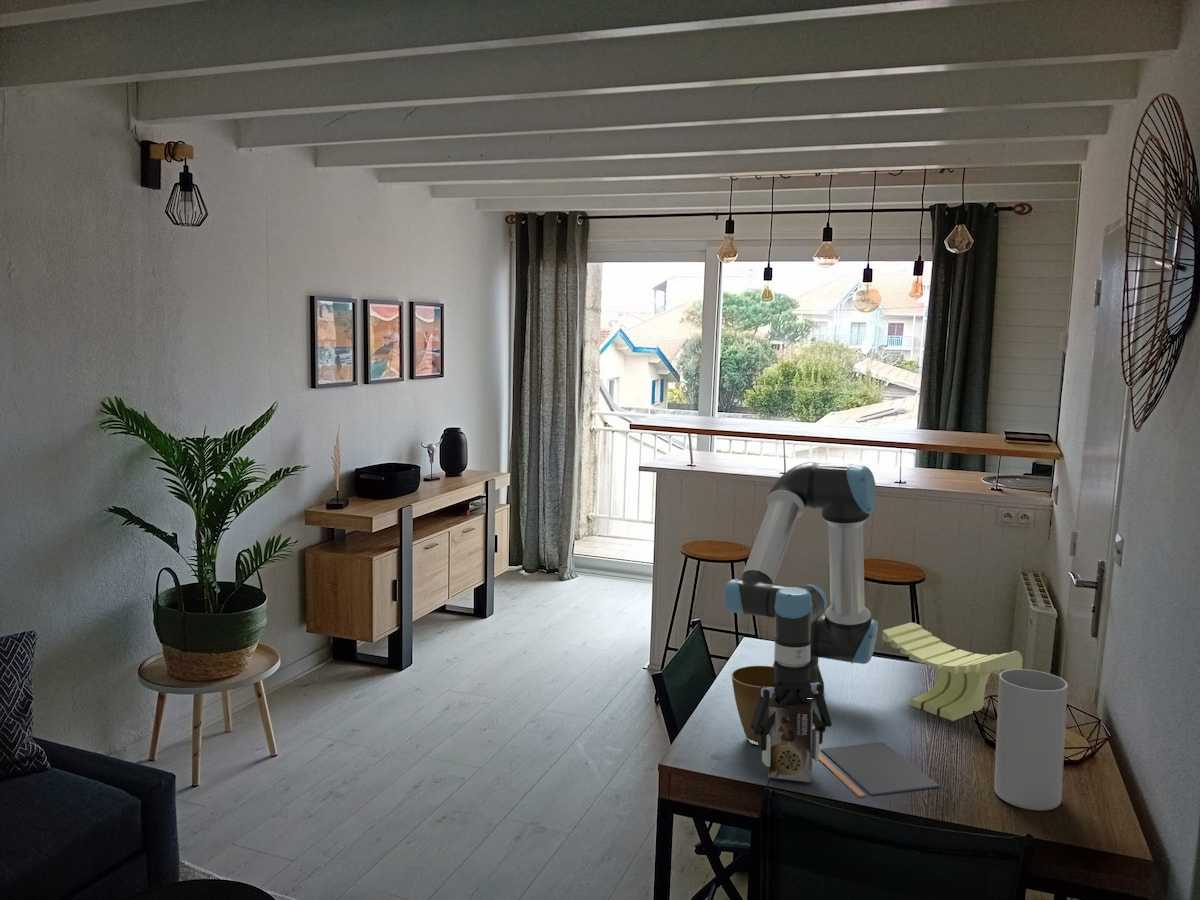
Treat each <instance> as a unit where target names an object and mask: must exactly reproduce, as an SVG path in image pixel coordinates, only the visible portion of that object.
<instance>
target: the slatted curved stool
mask: <svg viewBox="0 0 1200 900" xmlns="http://www.w3.org/2000/svg"><path fill="white" fill-rule="evenodd" d="M881 636H882V638H881V639H882V641H883V642H886V643H890V647H891V648H893V649H896V650H897V649H900V650H899V653H900V654H901V655H902V654H903V655H905V656H907V655H909V657H908V659H909V661H913V662H916V663H920V664H924V665H926V666H929V667H932V668H935V669H936V672H937V677H938V679H937V682H936V684H935V685H934V686H933V687H932V688H931V689H930V690H928V691H926V692H924V693H923V694H919V695H918V696H915V697H912V698H911V699H910V701H909V702H908V703H907V705H908V706H911V707H914V708H916V709H919V710H923V712H924V711H925V712H927V713H930V714H932V715H935V716H937V715H939V717H941V718H943V719H946V720H949V721H951V722H954V721H956V720H959V719H961V718H964V717H965V716H966V717H967V716H968V715H970V714H974V713H973V711H974V710H975V711H976V712H978V711H982V709H983V707H984V704H985V691H986V685H987V682H988V680H989V678H990V675H991V674H993V675H996V676H999V674H1000V673H1001V672H1003V671H1006V670H1011V669H1023V656H1022V654H1021V652H1020V651H1019V650H1014V651H1011V652H1004V653H1003V652H1002V653H1001V654H995V653H994V654H981V653H973V652H971V651H967V650H963V649H960V648H959V649H957V647H955V646H953V645H950V644H948V643H945V642H944V641H942V639H940V638H938V637H936V636H934V635H933V633H931V632H930V631H928V630H926V629H924V628H923V626H922V625H921V624H918V623H915V622H908V623H904V624H900V625H896V626H894V627H890V628H886V629H883V630H882V635H881Z"/></svg>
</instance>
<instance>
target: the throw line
mask: <svg viewBox="0 0 1200 900" xmlns="http://www.w3.org/2000/svg"><path fill="white" fill-rule="evenodd" d="M819 760H820V761H821V762H820V761H819V762H820V763H821V764H823V763H824V764H825V765H826V766H827V767H828V768H829V769H830V770H831V771H832V772H833V773H834V776H835V777H836V778H838V779H839V780H840V781H841V782H842V783H843V784H845V786H846V787H847V788H849V790H850V791H852V793H854V794H855V795H856V796H857V797H858V798H862V797H866V794H865V793H864V792H863V791H862V790H861V789H860V788H858V787H857V786H856V785H855V784H854V783H853V782H852V781H851V780H850V779H849V778H848V777H847V776H846V775H844V774H843V773H842V772H841V771H840V770H839V769H838V768H836V767H835V766H834V765H833V764H832V763H831V762H830V761H829V760H828V759H827V758H826V757H825V756H823V754H821V753H820V752H819ZM824 764H823V765H824ZM825 765H824V766H825ZM826 766H825V767H826ZM827 767H826V768H827ZM828 768H827V769H828ZM829 769H828V770H829ZM830 770H829V771H830ZM831 771H830V772H831ZM832 772H831V773H832ZM833 773H832V774H833Z"/></svg>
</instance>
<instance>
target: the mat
mask: <svg viewBox="0 0 1200 900" xmlns="http://www.w3.org/2000/svg"><path fill="white" fill-rule="evenodd" d="M821 750H822V751H823V752H824V753H825V754H827V755H828V756H829V757H830V758H831V759H832V760H833V761H834V762H835V763H836V764H837V765H836V764H835V763H834V762H833V761H832V760H831V759H830V758H829V757H828V756H827V757H828V758H829V759H830V760H831V761H832V762H833V763H834V764H835V765H836V766H837V767H839V768H840V770H842V771H843V772H844V773H845V774H846V775H847V774H848V775H847V776H848V777H850V778H851V779H852V780H853V781H854V782H855V783H856V784H857V785H859V786H860V787H861V788H862V789H863V790H864V791H865V792H866V793H867V794H868V795H870V796H878V795H885V794H886V795H887V794H893V793H895V794H896V793H904V792H912V791H919V790H926V789H934V788H940V784H938V783H937V782H936V781H934V780H933V779H932V778H930V777H929V776H928V775H927V774H926V773H924V772H923V771H922V770H920V769H919V768H918V767H916V766H915V765H914V764H912V763H911V762H910V761H909V760H907V759H906V758H905V757H903V756H902V755H901V754H899V753H898V752H897V751H896V750H895V749H893V748H891V746H890V745H888V744H886V742H884V741H881V742H880V741H879V742H869V743H861V744H852V745H844V746H835V747H825V748H820V751H821ZM822 751H821V752H822ZM823 752H822V753H823ZM824 753H823V754H824ZM825 754H824V755H825Z"/></svg>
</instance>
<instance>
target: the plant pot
mask: <svg viewBox="0 0 1200 900" xmlns="http://www.w3.org/2000/svg"><path fill="white" fill-rule="evenodd" d="M731 682H732V687H733V694H734V699H735V704H736V708H737V709H736V710H737V713H738V716H739V720H740V723H741V726H742V728H743V732H744V734H745V738H746V739H747V738H748V739H750V740H753V741H755V742H759V735H755V734H754V733H753V732H752V731H751V729H750V726H751V723H752V720H753V716H754V713H755V710H756V707H757V704H758V701H759V698H760V687H761V686H764V687H765V688H768V687H772V686H773V684H774V667H773V665H772V666H771V665H770V666H769V665H748V666H742V667H739V668H737V669H735V670H734V671H732V672H731ZM772 695H774V696H776V695H775V694H774V693H773V694H772ZM770 700H771V698H770ZM769 703H770V701H769ZM768 711H769V705H768V708H767V711H766V714H767V712H768ZM766 714H765V716H766ZM768 735H769V733H768Z"/></svg>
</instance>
